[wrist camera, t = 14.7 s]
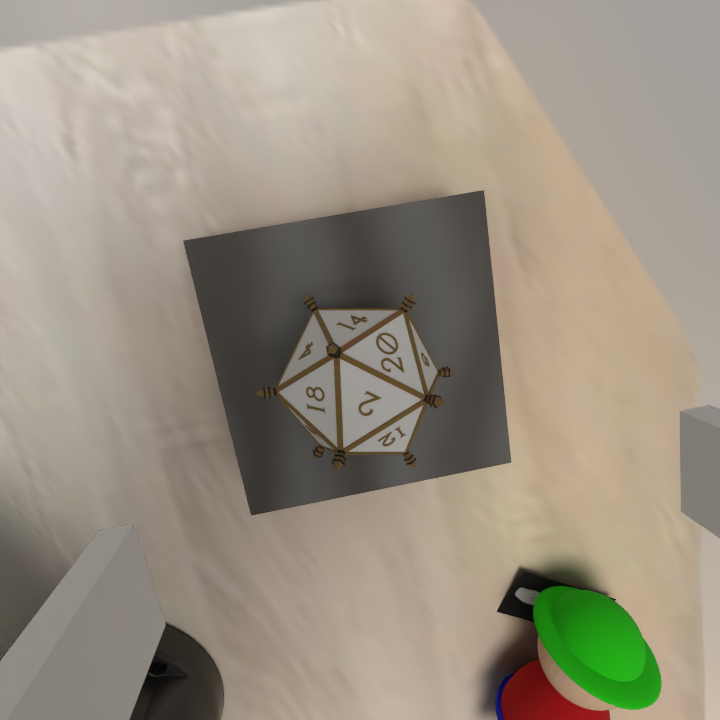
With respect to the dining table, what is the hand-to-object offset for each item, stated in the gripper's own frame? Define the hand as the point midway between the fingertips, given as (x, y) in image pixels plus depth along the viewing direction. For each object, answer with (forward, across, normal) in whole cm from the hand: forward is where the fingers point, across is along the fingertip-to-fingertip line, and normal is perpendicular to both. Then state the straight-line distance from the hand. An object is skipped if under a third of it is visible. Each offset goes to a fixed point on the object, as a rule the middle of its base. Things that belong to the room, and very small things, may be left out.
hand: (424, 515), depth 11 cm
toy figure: (+22, +11, -27) cm, 37 cm away
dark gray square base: (+22, 0, 0) cm, 22 cm away
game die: (+16, 0, 0) cm, 16 cm away
